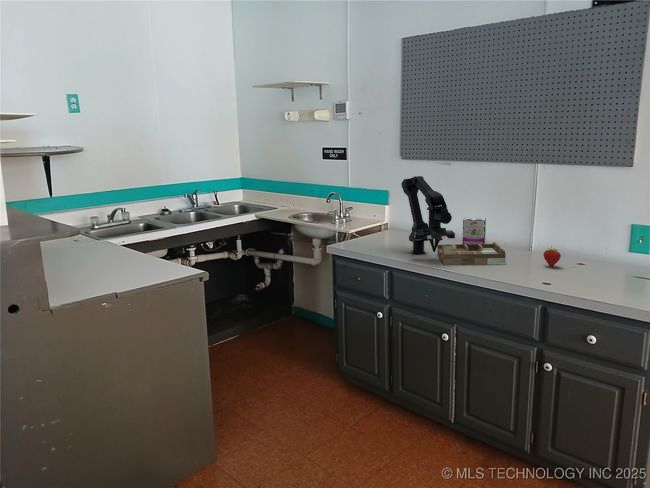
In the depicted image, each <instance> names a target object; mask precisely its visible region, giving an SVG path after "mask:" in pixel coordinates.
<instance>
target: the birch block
mask: <svg viewBox="0 0 650 488" xmlns="http://www.w3.org/2000/svg"><path fill="white" fill-rule="evenodd" d="M454 244H455V243H443V244H441V245H442V252H443V254H456V246H455V245H454Z"/></svg>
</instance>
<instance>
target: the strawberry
mask: <svg viewBox="0 0 650 488" xmlns="http://www.w3.org/2000/svg"><path fill="white" fill-rule="evenodd" d="M550 247H551V248H549V247H548V248H547V249H545V251H543V259H544V260H545V262H546V263H547V264H548V266H549V267H551V268H553V267H554V266H555V265H557V263H558V262H559V261H560V259H561V257H562V256H561V253H560V252H559V250H558V249H556V248H552V246H550Z"/></svg>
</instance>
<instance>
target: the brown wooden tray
mask: <svg viewBox="0 0 650 488" xmlns="http://www.w3.org/2000/svg"><path fill="white" fill-rule="evenodd" d="M453 244H454V245H455V246H456V254H443V252H442V245H443V244H438V246H437V248H436V251H437V256H438V258H439V260H440V261H441V263H442V265H443V266H468V265H469V266H470V265H471V266H473V265H474V266H475V265H477V266H478V265H483V266H484V265H489V266H490V265H491V266H492V265H505V264H506V255H507V254H506V250H504V248H502V247H501V246H500V245H499V244H498V243H496V242H495V241H494V242H493V241H492V243H485V244H463V243H460V244H459V243H458V244H456V243H453Z"/></svg>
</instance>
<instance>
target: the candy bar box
mask: <svg viewBox="0 0 650 488" xmlns="http://www.w3.org/2000/svg"><path fill="white" fill-rule="evenodd" d="M486 226H487V218H486V217H485V218H484V217H464V218H463V219H462V244H486V232H487V231H486V228H487V227H486Z"/></svg>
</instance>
